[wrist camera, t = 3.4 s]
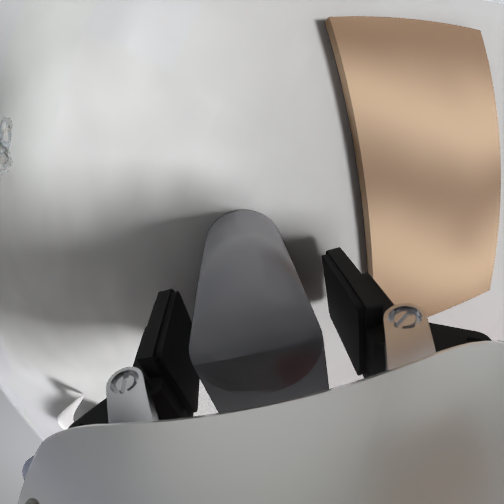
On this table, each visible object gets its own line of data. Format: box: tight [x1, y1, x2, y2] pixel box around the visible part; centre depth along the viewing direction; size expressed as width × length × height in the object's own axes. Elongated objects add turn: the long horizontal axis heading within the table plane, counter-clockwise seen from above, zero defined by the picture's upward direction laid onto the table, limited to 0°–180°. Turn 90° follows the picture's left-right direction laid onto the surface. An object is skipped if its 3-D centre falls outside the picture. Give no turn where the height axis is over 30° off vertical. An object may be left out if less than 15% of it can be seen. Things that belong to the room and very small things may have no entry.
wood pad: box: [325, 16, 501, 317], centre depth 11 cm, size 14×8×1 cm, turn 13°
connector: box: [189, 210, 329, 413], centre depth 11 cm, size 9×3×6 cm, turn 13°
